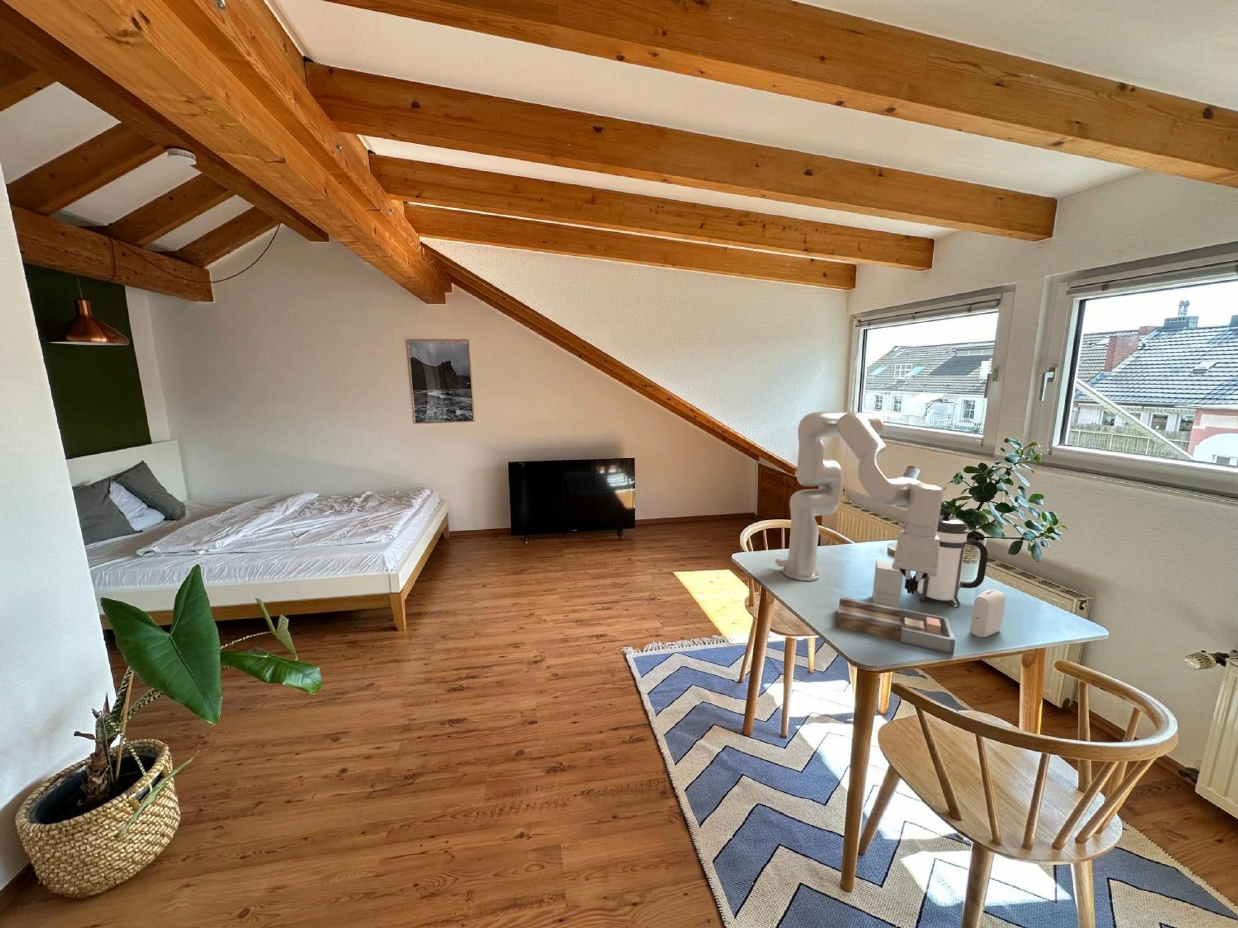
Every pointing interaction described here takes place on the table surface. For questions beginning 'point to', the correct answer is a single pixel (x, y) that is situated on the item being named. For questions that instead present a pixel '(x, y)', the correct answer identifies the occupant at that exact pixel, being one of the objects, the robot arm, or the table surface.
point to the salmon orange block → (932, 626)
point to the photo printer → (987, 613)
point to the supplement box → (887, 585)
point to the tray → (927, 640)
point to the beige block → (913, 624)
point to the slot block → (869, 618)
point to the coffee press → (951, 562)
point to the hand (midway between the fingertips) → (910, 591)
